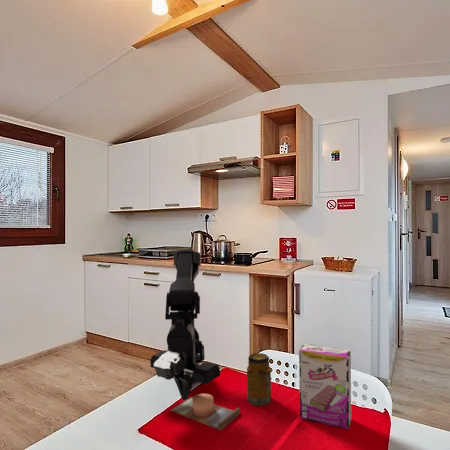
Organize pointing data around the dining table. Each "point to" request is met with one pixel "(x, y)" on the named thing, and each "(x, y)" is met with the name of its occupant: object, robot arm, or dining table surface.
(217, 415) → the board
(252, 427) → the dining table surface
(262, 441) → the dining table surface
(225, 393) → the dining table surface
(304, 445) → the dining table surface
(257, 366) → the condiment
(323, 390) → the candy bar box
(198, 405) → the tan round cylinder
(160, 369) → the robot arm
